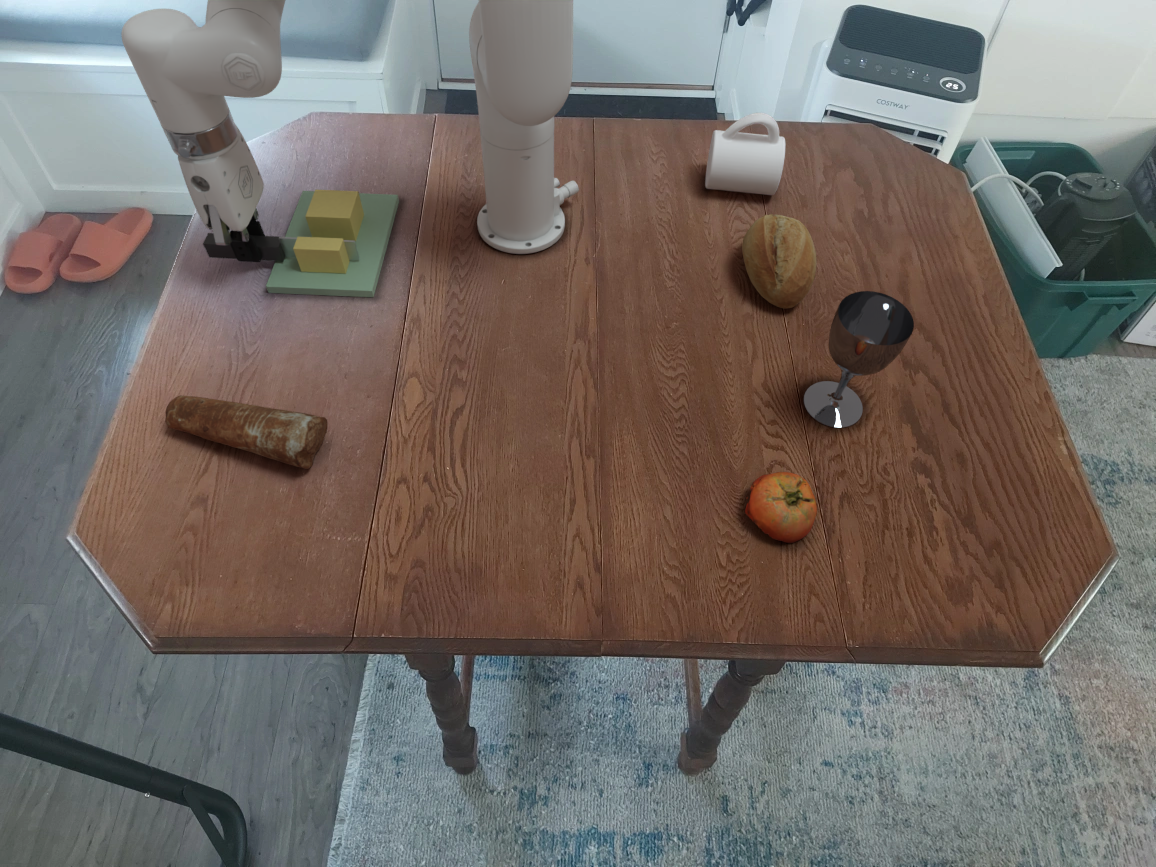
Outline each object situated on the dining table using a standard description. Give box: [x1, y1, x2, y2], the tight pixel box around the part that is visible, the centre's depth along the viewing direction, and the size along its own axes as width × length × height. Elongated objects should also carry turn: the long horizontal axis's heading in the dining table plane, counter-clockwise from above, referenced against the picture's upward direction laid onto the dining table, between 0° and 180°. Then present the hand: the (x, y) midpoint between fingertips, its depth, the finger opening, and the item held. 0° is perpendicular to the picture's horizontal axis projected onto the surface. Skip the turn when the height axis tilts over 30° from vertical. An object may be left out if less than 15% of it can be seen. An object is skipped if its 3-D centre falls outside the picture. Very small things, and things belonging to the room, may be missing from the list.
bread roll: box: [741, 213, 817, 309], centre depth 101 cm, size 10×15×8 cm, turn 1°
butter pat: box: [293, 237, 350, 274], centre depth 100 cm, size 2×6×4 cm, turn 88°
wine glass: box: [803, 290, 915, 429], centre depth 86 cm, size 8×8×15 cm
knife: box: [202, 232, 360, 262], centre depth 101 cm, size 20×2×3 cm, turn 88°
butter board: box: [265, 189, 400, 298], centre depth 104 cm, size 20×14×5 cm
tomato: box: [744, 471, 818, 544], centre depth 82 cm, size 8×7×7 cm
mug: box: [704, 112, 787, 196], centre depth 111 cm, size 8×10×12 cm
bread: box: [165, 394, 328, 470], centre depth 85 cm, size 6×19×6 cm, turn 73°
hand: (252, 252), depth 102 cm, fingers closed on knife, 2 cm apart
